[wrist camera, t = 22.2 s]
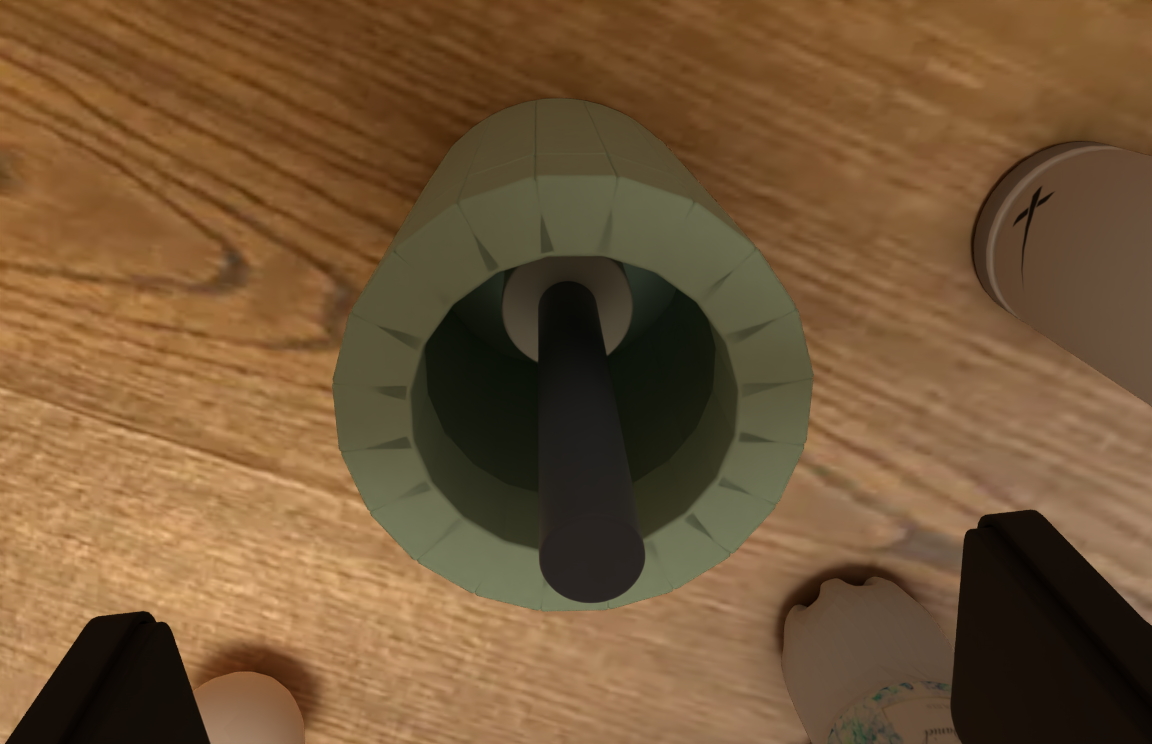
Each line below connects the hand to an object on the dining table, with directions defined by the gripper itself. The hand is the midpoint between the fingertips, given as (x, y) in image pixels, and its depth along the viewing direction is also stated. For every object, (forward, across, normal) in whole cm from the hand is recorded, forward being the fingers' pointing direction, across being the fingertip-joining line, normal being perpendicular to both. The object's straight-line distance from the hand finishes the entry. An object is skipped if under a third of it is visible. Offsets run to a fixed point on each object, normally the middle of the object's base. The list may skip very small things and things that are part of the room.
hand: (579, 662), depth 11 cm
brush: (+21, 0, +1) cm, 21 cm away
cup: (+22, 0, +1) cm, 22 cm away
